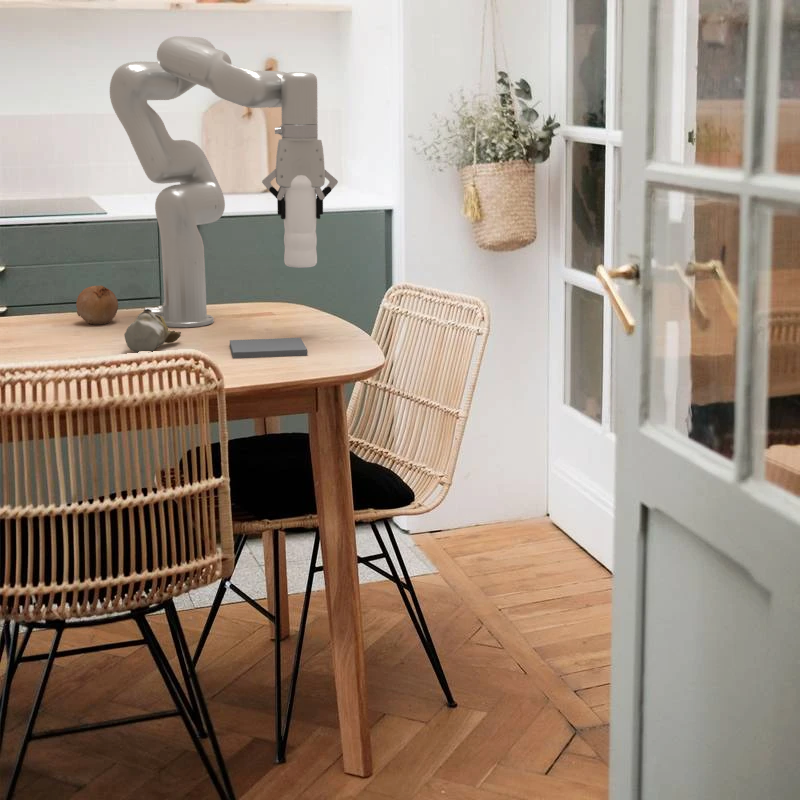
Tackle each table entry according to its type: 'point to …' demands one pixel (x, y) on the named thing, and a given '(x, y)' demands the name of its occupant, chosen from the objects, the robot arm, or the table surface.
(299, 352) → the slate mat
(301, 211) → the water bottle
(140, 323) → the ceramic sculpture
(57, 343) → the table surface
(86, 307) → the onion
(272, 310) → the table surface
